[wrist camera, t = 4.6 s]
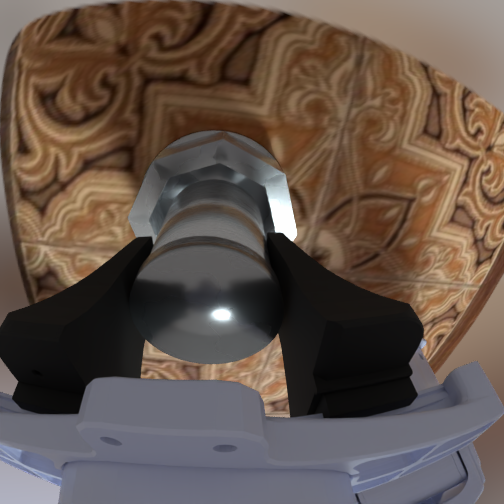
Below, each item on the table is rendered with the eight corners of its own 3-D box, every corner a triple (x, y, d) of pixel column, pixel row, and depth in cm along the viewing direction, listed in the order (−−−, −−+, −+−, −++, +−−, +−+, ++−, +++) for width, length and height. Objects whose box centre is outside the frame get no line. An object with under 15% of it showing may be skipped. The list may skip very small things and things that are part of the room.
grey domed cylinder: (269, 178, 13) (295, 253, 8) (260, 267, 15) (274, 364, 10) (161, 175, 12) (115, 248, 7) (168, 264, 15) (143, 359, 10)
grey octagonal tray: (316, 178, 16) (332, 196, 14) (240, 284, 20) (243, 312, 17) (182, 102, 13) (173, 106, 11) (121, 231, 17) (108, 255, 15)
